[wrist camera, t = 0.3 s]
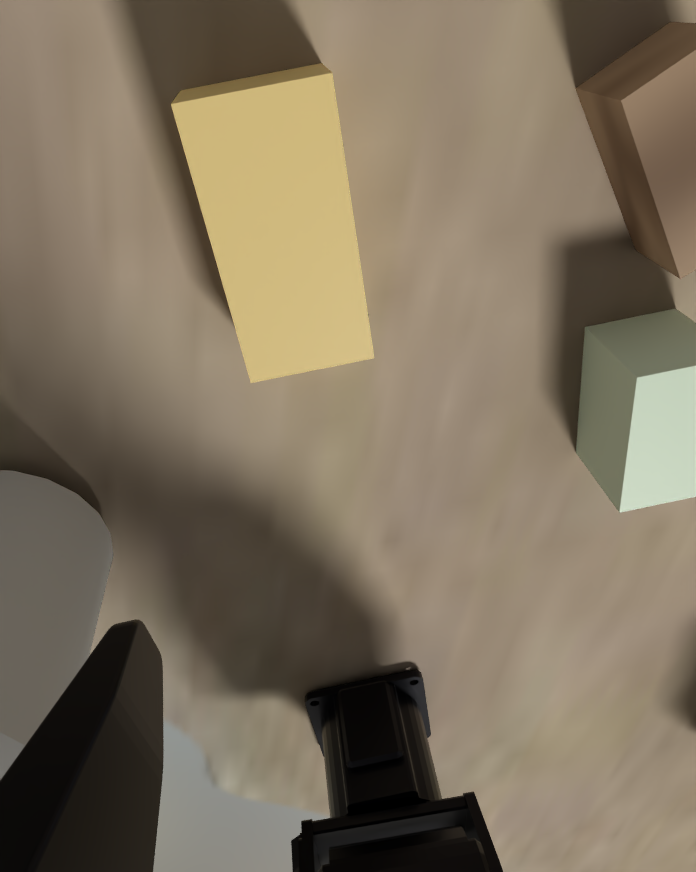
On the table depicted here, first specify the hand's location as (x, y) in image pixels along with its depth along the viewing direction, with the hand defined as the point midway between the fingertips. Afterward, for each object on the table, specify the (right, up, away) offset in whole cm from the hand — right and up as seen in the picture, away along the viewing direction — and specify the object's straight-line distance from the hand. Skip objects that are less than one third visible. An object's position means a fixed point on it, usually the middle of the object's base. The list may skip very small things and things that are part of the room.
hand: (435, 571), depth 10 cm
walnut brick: (+8, +11, +11) cm, 18 cm away
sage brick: (+10, +4, +16) cm, 19 cm away
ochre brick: (-3, +9, +10) cm, 14 cm away
